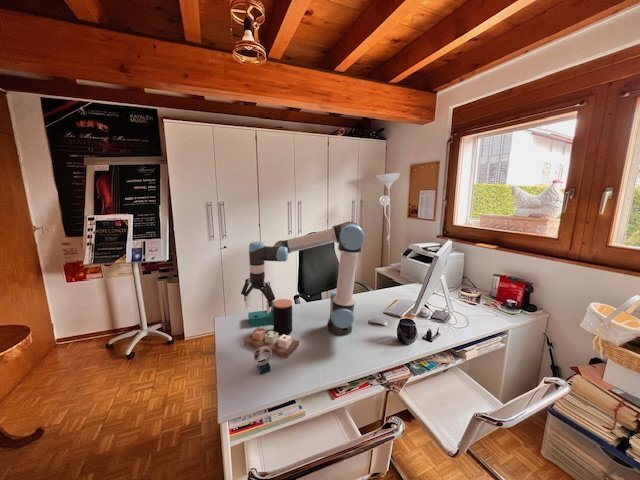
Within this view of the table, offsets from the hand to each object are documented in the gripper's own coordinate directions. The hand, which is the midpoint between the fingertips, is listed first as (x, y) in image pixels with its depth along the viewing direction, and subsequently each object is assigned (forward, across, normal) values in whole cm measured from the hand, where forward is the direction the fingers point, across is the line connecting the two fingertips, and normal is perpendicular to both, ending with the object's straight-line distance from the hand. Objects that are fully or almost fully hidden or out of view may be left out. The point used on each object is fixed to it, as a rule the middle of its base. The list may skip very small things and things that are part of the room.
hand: (258, 309), depth 140 cm
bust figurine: (+18, -17, +19) cm, 31 cm away
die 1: (+15, -1, +2) cm, 15 cm away
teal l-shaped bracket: (+18, +9, -18) cm, 27 cm away
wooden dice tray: (+17, -10, +2) cm, 20 cm away
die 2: (+15, -9, +2) cm, 18 cm away
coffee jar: (+18, -8, -12) cm, 23 cm away
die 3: (+15, -17, +2) cm, 23 cm away
